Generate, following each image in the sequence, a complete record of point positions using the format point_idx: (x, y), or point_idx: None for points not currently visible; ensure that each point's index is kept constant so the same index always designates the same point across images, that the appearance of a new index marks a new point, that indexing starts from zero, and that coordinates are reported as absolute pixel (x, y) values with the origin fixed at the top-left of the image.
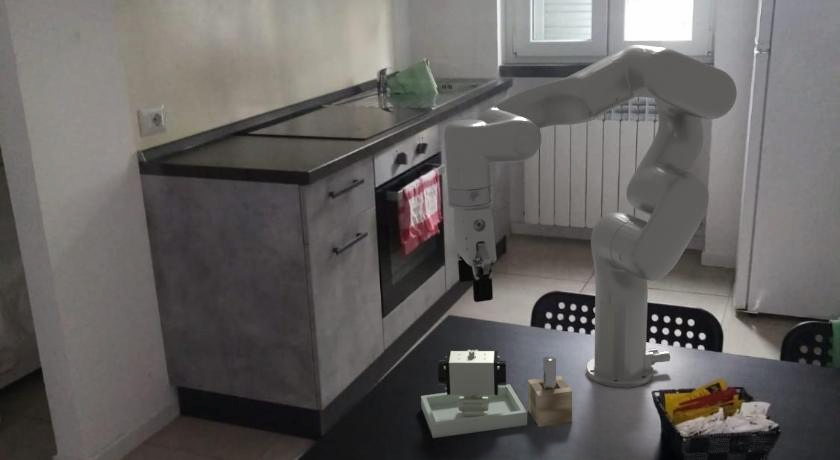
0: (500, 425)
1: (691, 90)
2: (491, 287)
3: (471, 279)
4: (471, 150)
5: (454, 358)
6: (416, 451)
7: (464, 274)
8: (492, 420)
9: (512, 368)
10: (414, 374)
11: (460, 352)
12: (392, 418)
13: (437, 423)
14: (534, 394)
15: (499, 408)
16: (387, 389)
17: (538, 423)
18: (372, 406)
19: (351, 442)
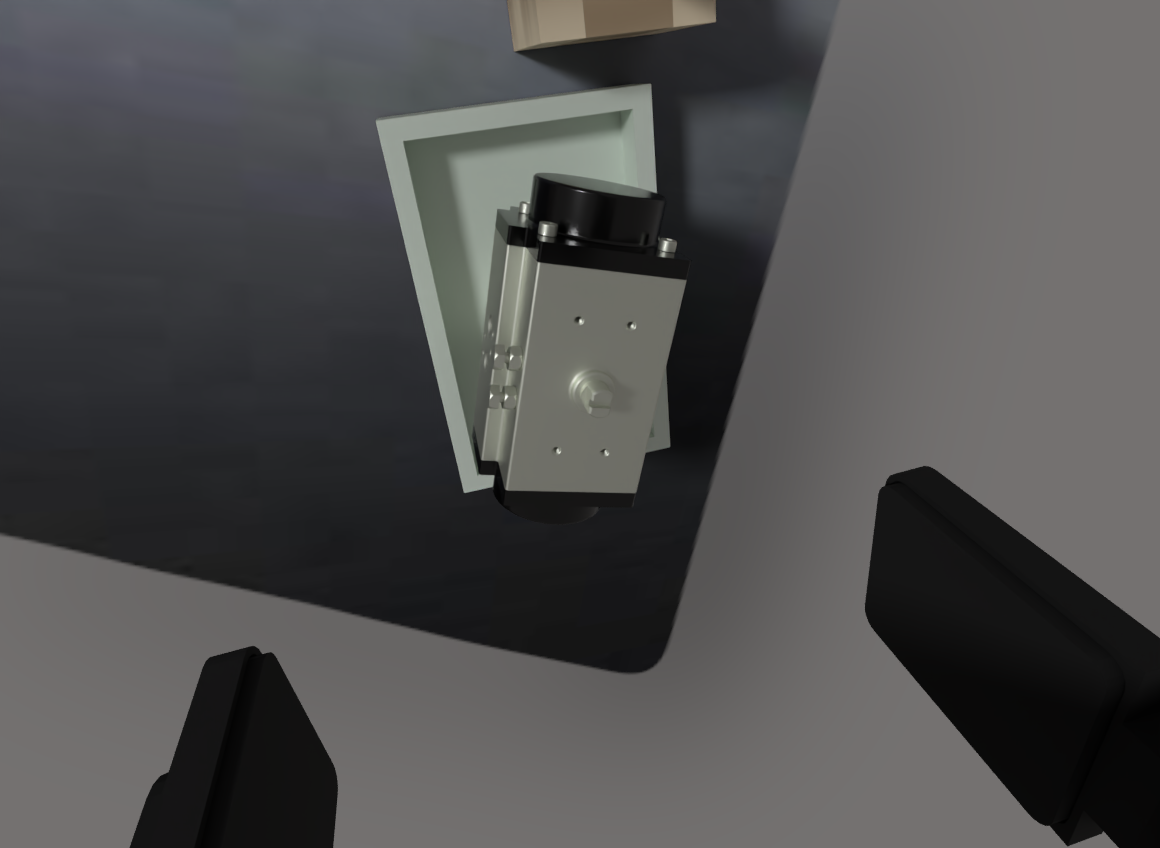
0: None
1: None
2: (1040, 558)
3: (294, 703)
4: None
5: (596, 471)
6: (711, 465)
7: (310, 835)
8: None
9: (34, 45)
10: (173, 508)
11: (530, 445)
12: (517, 542)
13: (663, 432)
14: (645, 31)
15: (513, 188)
16: (312, 580)
17: (658, 33)
18: (435, 603)
19: (631, 618)
